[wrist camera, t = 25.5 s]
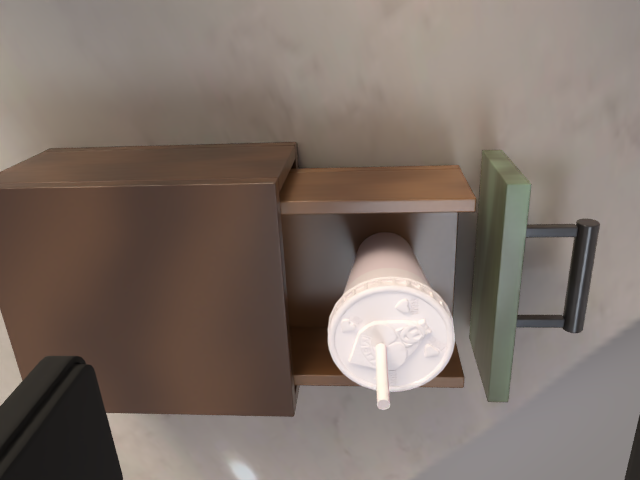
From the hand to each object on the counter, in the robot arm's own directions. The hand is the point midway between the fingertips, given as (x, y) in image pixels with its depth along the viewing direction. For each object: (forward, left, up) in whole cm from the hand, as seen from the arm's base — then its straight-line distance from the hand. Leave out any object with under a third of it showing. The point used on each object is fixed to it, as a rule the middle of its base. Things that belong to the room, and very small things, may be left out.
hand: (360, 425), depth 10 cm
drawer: (+9, +3, -27) cm, 29 cm away
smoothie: (+9, +1, -26) cm, 27 cm away
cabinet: (+9, -13, -28) cm, 32 cm away
